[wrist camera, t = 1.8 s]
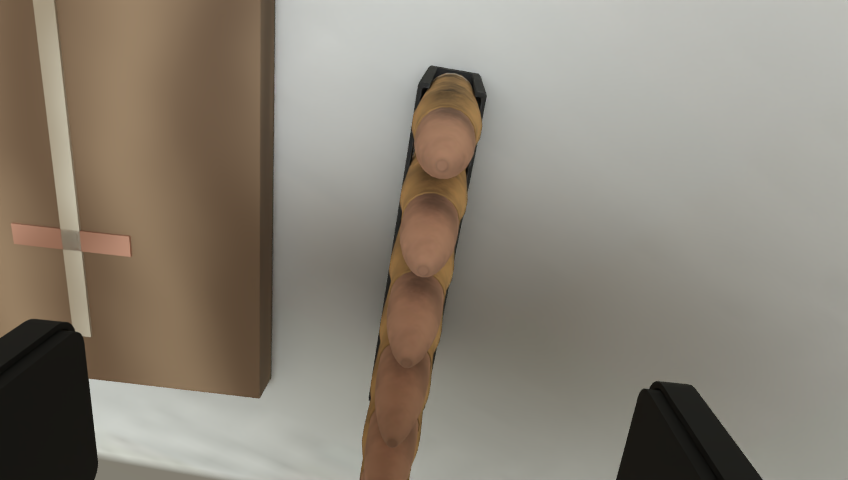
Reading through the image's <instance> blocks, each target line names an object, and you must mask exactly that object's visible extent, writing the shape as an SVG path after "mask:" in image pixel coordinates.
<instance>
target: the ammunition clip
mask: <svg viewBox="0 0 848 480" xmlns="http://www.w3.org/2000/svg"><path fill="white" fill-rule="evenodd" d="M486 97H487V96H486V92H485V89H484V86H483V83H482V80H481V77H480V75H479V74H476V73H471V72H465V71H459V70H454V69H448V68H442V67H437V66H430V67H429V68H428V70H427V71H426V73H425V74H424V76H423V77H422V79H421V80H420V82H419V84H418V89H417V95H416V102H415V108H414V114H413V121H412V127H411V133H410V140H409V146H408V152H407V159H406V165H405V171H404V178H403V184H402V190H401V197H400V203H399V209H398V216H397V222H396V228H395V235H394V241H393V247H392V254H391V260H390V266H389V273H388V279H387V285H386V292H385V298H384V304H383V311H382V317H381V323H380V330H379V336H378V342H377V349H376V355H375V361H374V368H373V374H372V380H371V387H370V393H369V401H370V404H369V408H368V413H367V417H366V421H365V426H364V431H363V438H362V452H363V461H362V467H361V473H360V480H409V477H410V471H411V466H412V463H413V461H414V458H415V456H416V453H417V451H418V446H419V441H420V434H421V424H422V414H423V410H424V408H425V404H426V402H427V399H428V396H429V391H430V385H431V374H432V369H433V364H434V359H435V354H436V349H437V346H438V344H439V341H440V336H441V330H442V319H443V314H444V308H445V303H446V298H447V293H448V288H449V285H450V283H451V281H452V275H453V270H454V258H455V253H456V248H457V243H458V238H459V233H460V228H461V223H462V218H463V215H464V214H465V210H466V205H467V200H468V199H467V193H468V188H469V183H470V178H471V172H472V167H473V162H474V157H475V152H476V147H477V143H478V141H479V139H480V135H481V130H482V117H483V112H484V107H485V102H486ZM413 150H414V151H413ZM412 156H413V158H412Z"/></svg>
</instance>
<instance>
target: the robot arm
mask: <svg viewBox="0 0 848 480" xmlns="http://www.w3.org/2000/svg"><path fill="white" fill-rule="evenodd" d="M97 468H98V458H97V449H96V441H95V432H94V423H93V414H92V405H91V396H90V388H89V379H88V370H87V361H86V352H85V343H84V338H83V336H82V334H81V333H79V332H75V329H74V327H73V325H72V324H70V323H69V322H62V321H52V320H42V319H29V320H27V321H25V322H23V323H22V324H20V325H19V326H17V327H16V328H14V329H13V330H11V331H10V332H8V333H7V334H5V335H4V336H2V337H1V338H0V480H94V479H95V476H96V473H97ZM616 480H763V479H762V478H761V477H760V475H759V474H758V473H757V471H756V470H755V469H754V467H753V466H752V465H751V463H750V462H749V461H748V459H747V458H746V456H745V455H744V454H743V452H742V451H741V450H740V448H739V447H738V446H737V444H736V443H735V442H734V440H733V439H732V438H731V436H730V435H729V434H728V432H727V431H726V430H725V428H724V427H723V425H722V424H721V423H720V421H719V420H718V419H717V417H716V416H715V415H714V413H713V412H712V411H711V409H710V408H709V407H708V405H707V404H706V403H705V401H704V400H703V398H702V397H701V396H700V394H699V393H698V392H697V390H696V389H695V388H694V387H693V386H692V385H688V384H679V383H669V382H659V381H656V382H654V383H653V384H652V385H651V386H650V389H642V390H641V392H640V393H639V396H638V399H637V403H636V407H635V410H634V414H633V418H632V422H631V426H630V429H629V433H628V437H627V441H626V445H625V448H624V452H623V456H622V460H621V464H620V467H619V471H618V475H617V479H616Z"/></svg>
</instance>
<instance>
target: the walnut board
mask: <svg viewBox="0 0 848 480" xmlns="http://www.w3.org/2000/svg"><path fill="white" fill-rule="evenodd" d="M274 40H275V0H0V338H1V337H2V336H4V335H5V334H7V333H8V332H10V331H11V330H13V329H14V328H16V327H17V326H19V325H20V324H22V323H23V322H25V321H27V320H29V319H42V320H52V321H62V322H69V323H70V324H72V325H73V327H74V329H75V332H79V333H81V334H82V336H83V338H84V343H85V352H86V361H87V370H88V378H89V379H97V380H106V381H114V382H123V383H132V384H140V385H149V386H157V387H166V388H175V389H183V390H192V391H200V392H209V393H217V394H226V395H235V396H243V397H252V398H260V397H261V395H262V393H263V391H264V389H265V388H266V386H267V384H268V382H269V380H270V379H271V330H272V233H273V136H274Z"/></svg>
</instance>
